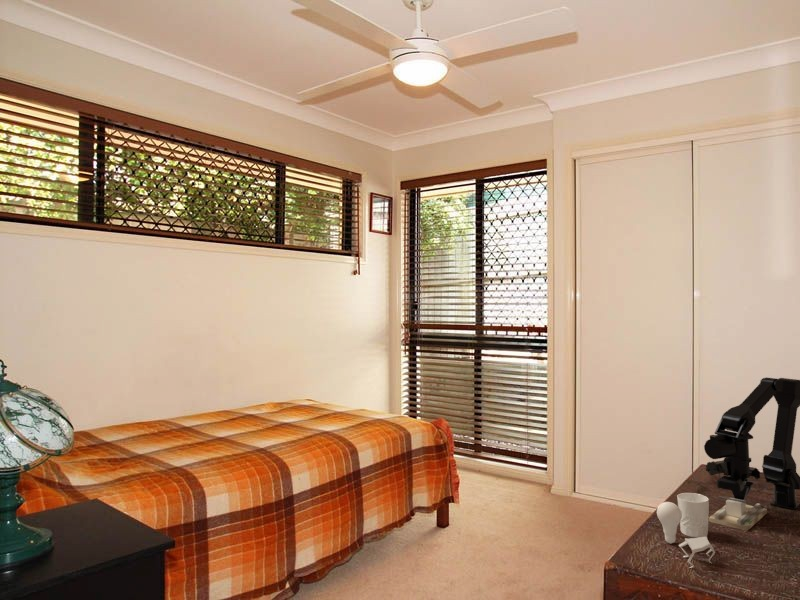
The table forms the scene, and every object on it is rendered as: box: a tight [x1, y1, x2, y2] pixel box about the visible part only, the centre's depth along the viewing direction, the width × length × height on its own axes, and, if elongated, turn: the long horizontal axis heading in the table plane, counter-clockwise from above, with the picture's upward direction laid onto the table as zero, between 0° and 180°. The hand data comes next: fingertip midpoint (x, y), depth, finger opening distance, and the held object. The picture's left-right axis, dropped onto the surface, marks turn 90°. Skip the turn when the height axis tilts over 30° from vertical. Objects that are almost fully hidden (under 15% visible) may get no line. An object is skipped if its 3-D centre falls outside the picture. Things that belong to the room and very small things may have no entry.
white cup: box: [676, 492, 710, 538], centre depth 159 cm, size 8×8×10 cm
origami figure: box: [678, 536, 716, 569], centre depth 142 cm, size 12×8×5 cm
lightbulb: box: [656, 501, 682, 544], centre depth 153 cm, size 6×6×11 cm
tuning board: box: [708, 503, 768, 532], centre depth 169 cm, size 18×10×2 cm, turn 132°
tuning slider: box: [717, 495, 754, 517], centre depth 167 cm, size 4×9×4 cm, turn 42°
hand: (739, 506), depth 170 cm, fingers closed
